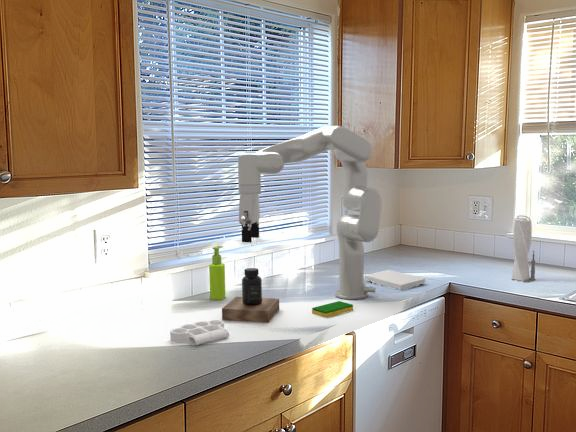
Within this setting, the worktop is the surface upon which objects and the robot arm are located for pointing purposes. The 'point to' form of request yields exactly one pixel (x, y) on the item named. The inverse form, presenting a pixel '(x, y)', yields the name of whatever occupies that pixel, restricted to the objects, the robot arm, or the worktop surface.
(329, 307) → the dish sponge
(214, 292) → the soap dispenser
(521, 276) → the paper towel holder
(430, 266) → the worktop surface
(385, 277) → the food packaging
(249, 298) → the supplement bottle
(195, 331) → the white compartment tray
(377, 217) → the robot arm
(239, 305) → the stand
